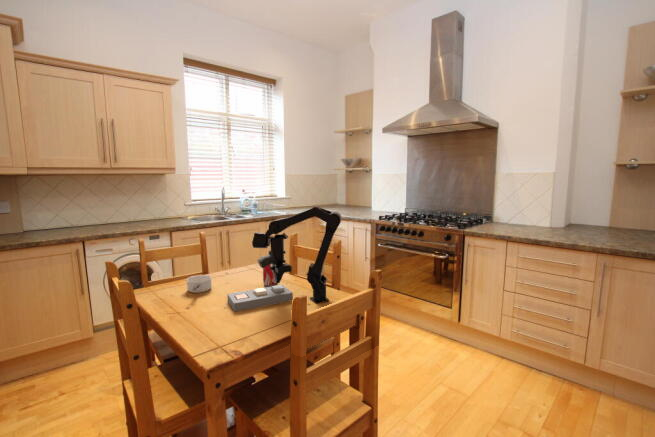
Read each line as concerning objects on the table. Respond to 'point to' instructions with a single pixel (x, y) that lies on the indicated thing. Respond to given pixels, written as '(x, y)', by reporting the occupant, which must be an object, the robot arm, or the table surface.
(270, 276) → the soda can
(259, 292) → the cream key
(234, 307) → the keypad
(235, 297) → the terracotta key
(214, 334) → the table surface
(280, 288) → the bluegrey key
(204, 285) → the light grey oval block
